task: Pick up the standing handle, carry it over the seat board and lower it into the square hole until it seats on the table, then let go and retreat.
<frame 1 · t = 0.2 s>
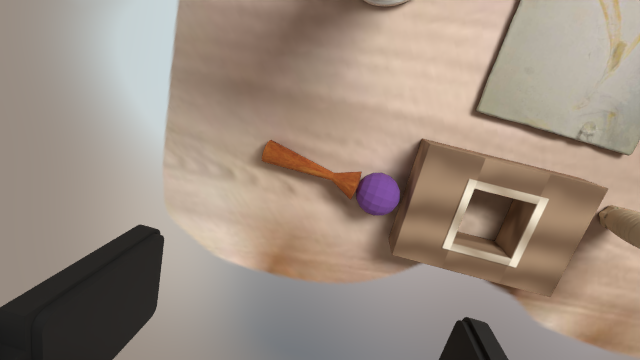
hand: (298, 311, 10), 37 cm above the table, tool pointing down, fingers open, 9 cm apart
handle: (608, 214, 43), on the table
seat board: (478, 210, 45), on the table
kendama: (332, 171, 46), on the table
decorative slab: (594, 28, 38), on the table
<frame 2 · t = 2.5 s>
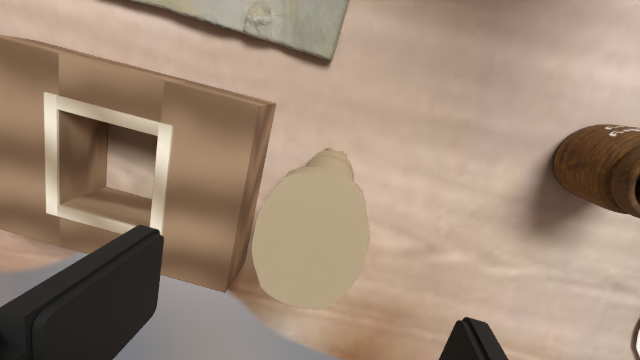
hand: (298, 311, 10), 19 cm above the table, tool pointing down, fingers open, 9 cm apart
handle: (332, 164, 28), on the table
utensil holder: (586, 158, 25), on the table
seat board: (147, 158, 29), on the table
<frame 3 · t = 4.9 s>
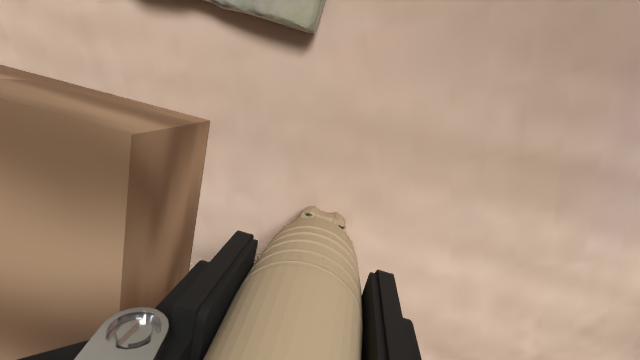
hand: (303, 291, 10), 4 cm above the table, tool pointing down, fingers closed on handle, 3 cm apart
handle: (319, 234, 15), on the table, touching gripper
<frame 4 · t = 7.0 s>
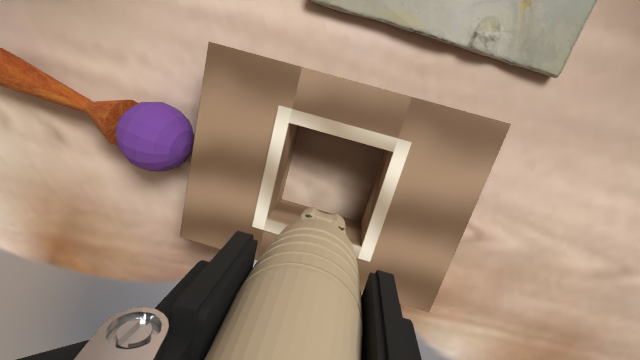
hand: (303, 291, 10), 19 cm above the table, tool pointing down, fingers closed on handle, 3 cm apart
handle: (319, 235, 15), point 14 cm above the table, touching gripper
seat board: (331, 172, 29), on the table
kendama: (110, 105, 30), on the table
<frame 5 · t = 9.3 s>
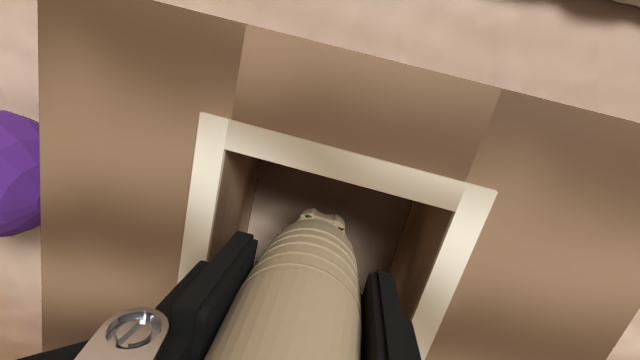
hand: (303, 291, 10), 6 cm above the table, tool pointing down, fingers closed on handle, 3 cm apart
handle: (318, 235, 15), point 2 cm above the table, touching gripper
seat board: (324, 224, 16), on the table
when the fingers open (6 cm above the table, at t = 9.6 s): handle drops 2 cm, resting in seat board.
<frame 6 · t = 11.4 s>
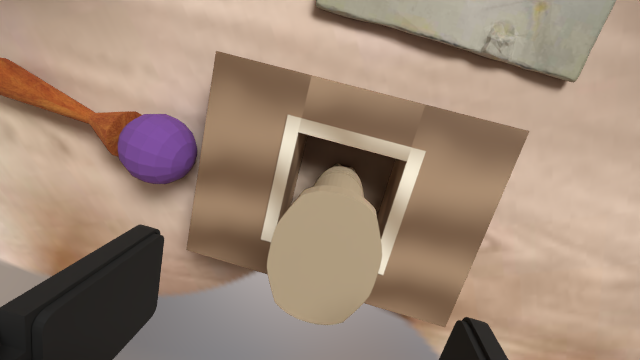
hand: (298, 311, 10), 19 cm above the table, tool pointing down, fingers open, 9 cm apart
handle: (341, 179, 28), resting in seat board
seat board: (341, 181, 28), on the table
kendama: (113, 116, 30), on the table
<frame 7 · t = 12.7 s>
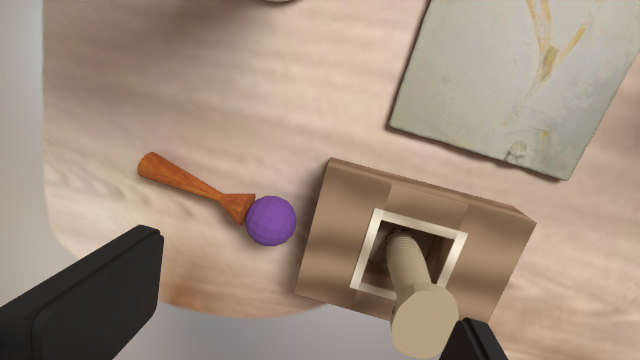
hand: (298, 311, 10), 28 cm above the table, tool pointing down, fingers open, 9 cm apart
handle: (399, 239, 39), resting in seat board
seat board: (399, 240, 39), on the table
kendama: (227, 190, 40), on the table
decorative slab: (524, 30, 32), on the table
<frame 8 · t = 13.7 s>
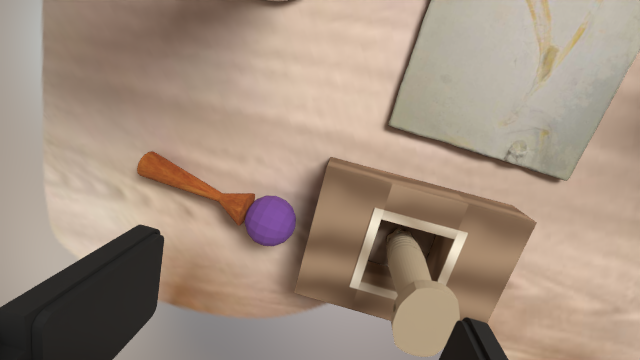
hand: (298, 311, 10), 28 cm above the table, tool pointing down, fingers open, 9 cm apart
handle: (399, 238, 39), resting in seat board
seat board: (399, 240, 39), on the table
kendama: (227, 190, 40), on the table
decorative slab: (524, 29, 32), on the table
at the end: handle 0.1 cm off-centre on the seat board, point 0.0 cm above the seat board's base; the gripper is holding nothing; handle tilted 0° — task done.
